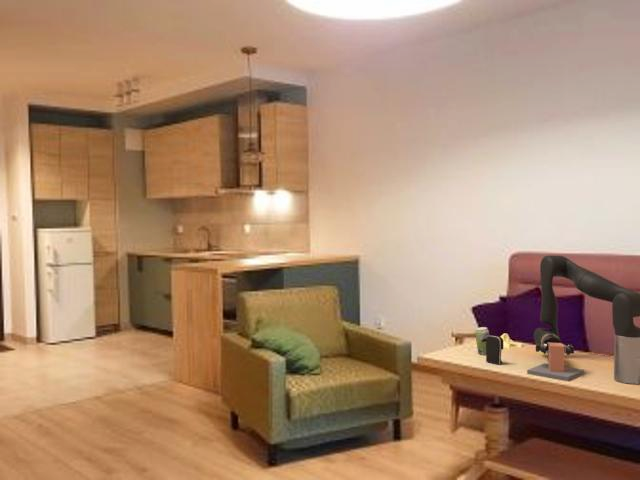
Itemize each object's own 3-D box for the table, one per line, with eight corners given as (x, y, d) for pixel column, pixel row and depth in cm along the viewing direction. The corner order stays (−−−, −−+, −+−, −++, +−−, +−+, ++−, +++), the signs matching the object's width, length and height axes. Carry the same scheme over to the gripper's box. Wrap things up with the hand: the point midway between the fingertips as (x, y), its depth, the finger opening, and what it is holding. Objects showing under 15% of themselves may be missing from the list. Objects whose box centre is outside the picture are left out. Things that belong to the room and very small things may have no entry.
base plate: (584, 373, 245) (584, 369, 245) (567, 381, 233) (568, 377, 233) (544, 366, 256) (544, 363, 256) (527, 373, 244) (527, 369, 244)
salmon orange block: (561, 368, 247) (561, 343, 247) (563, 372, 240) (564, 346, 240) (548, 367, 248) (548, 342, 248) (550, 371, 242) (550, 345, 241)
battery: (504, 363, 260) (504, 336, 260) (498, 365, 258) (499, 337, 258) (491, 360, 266) (491, 334, 266) (485, 362, 264) (485, 335, 264)
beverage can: (494, 354, 278) (494, 328, 277) (480, 356, 275) (480, 329, 274) (485, 352, 283) (486, 325, 283) (472, 353, 281) (472, 326, 280)
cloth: (505, 340, 314) (505, 328, 314) (533, 347, 298) (533, 334, 297) (471, 344, 304) (471, 331, 304) (498, 351, 287) (498, 338, 287)
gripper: (533, 333, 259) (537, 341, 244) (569, 335, 256) (576, 343, 240) (533, 351, 260) (537, 360, 244) (569, 353, 256) (576, 362, 241)
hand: (556, 351), depth 242 cm, fingers open, 8 cm apart
